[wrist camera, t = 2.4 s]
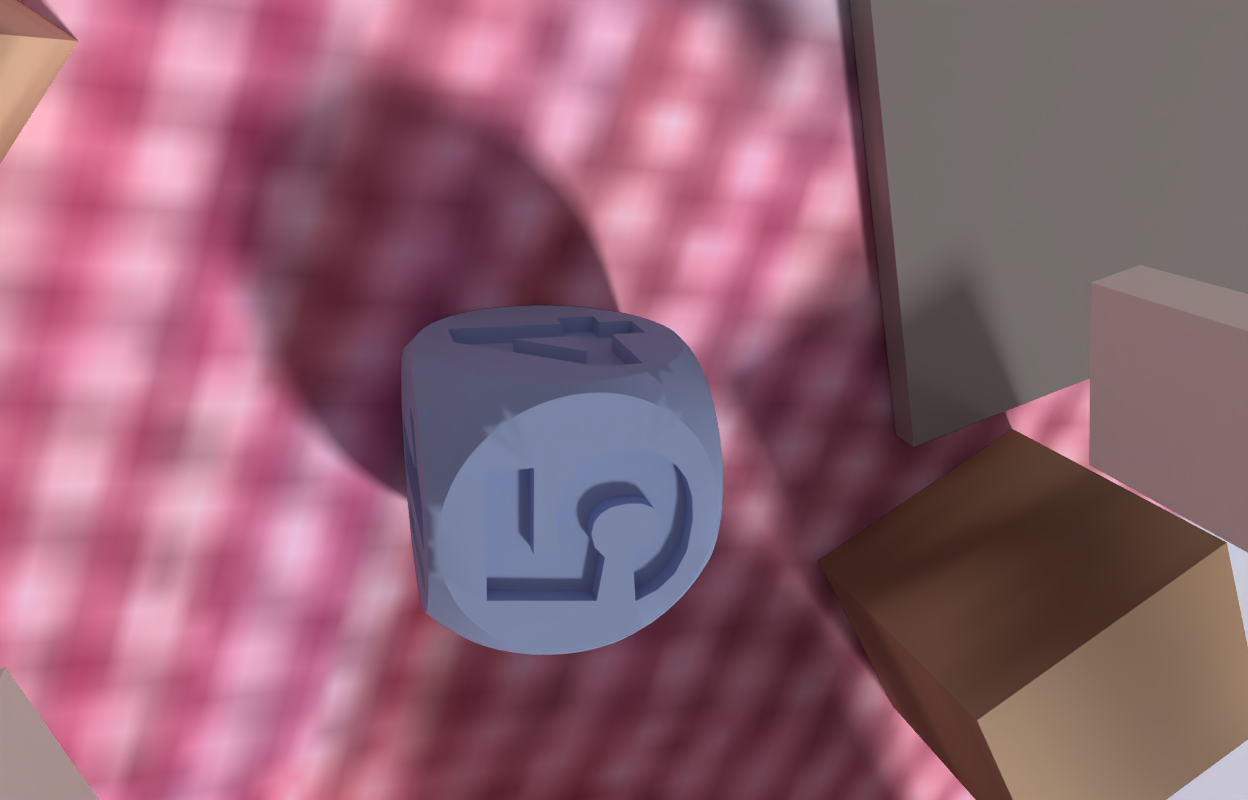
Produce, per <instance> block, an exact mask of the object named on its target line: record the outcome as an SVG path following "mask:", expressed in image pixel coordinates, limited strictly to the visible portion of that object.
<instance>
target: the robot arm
mask: <svg viewBox="0 0 1248 800" xmlns="http://www.w3.org/2000/svg"><path fill="white" fill-rule="evenodd" d="M1089 465H1091V466H1092V467H1094V468H1096V469H1098V470H1100V471H1101V472H1103V473H1105V474H1107V475H1109V476H1110V477H1112V478H1114V479H1116V480H1118V481H1119V482H1121V483H1123V484H1125V485H1127V486H1129V487H1130V488H1132V489H1134V490H1136V491H1138V492H1139V493H1141V494H1143V495H1145V496H1147V497H1148V498H1150V499H1152V500H1154V501H1156V502H1157V503H1159V504H1161V505H1163V506H1165V507H1167V508H1168V509H1170V510H1172V511H1174V512H1176V513H1177V514H1179V515H1181V516H1183V517H1185V518H1186V519H1188V520H1190V521H1192V522H1194V523H1195V524H1197V525H1199V526H1201V527H1203V528H1204V529H1206V530H1208V531H1210V532H1212V533H1214V534H1215V535H1217V536H1219V537H1221V538H1223V539H1224V540H1226V541H1228V542H1230V543H1232V544H1233V545H1235V546H1237V547H1239V548H1241V549H1242V550H1244V551H1246V552H1248V294H1247V293H1243V292H1239V291H1235V290H1232V289H1228V288H1224V287H1221V286H1217V285H1213V284H1209V283H1206V282H1202V281H1198V280H1195V279H1191V278H1187V277H1183V276H1180V275H1176V274H1172V273H1169V272H1165V271H1161V270H1157V269H1154V268H1150V267H1146V266H1143V265H1139V266H1136V267H1133V268H1130V269H1127V270H1125V271H1122V272H1119V273H1116V274H1113V275H1110V276H1108V277H1105V278H1102V279H1099V280H1096V281H1094V282H1091V330H1090V445H1089ZM0 800H98V798H97V797H96V796H95V794H94V793H93V791H92V790H91V788H90V787H89V786H88V784H87V783H86V781H85V780H84V778H83V777H82V776H81V774H80V773H79V771H78V770H77V768H76V767H75V766H74V764H73V763H72V761H71V760H70V758H69V757H68V756H67V754H66V753H65V751H64V750H63V748H62V747H61V746H60V744H59V743H58V741H57V740H56V738H55V737H54V736H53V734H52V733H51V731H50V730H49V728H48V727H47V726H46V724H45V723H44V721H43V720H42V718H41V717H40V716H39V714H38V713H37V711H36V710H35V708H34V707H33V705H32V704H31V703H30V701H29V700H28V698H27V697H26V695H25V694H24V693H23V691H22V690H21V688H20V687H19V685H18V684H17V683H16V681H15V680H14V678H13V677H12V675H11V674H10V673H9V671H8V670H7V668H6V667H5V668H2V669H0Z"/></svg>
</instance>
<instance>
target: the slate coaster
mask: <svg viewBox="0 0 1248 800" xmlns="http://www.w3.org/2000/svg"><path fill="white" fill-rule="evenodd" d="M849 1H850V10H851V20H852V29H853V38H854V48H855V57H856V66H857V76H858V85H859V95H860V104H861V113H862V123H863V132H864V141H865V151H866V160H867V169H868V179H869V188H870V198H871V207H872V216H873V226H874V235H875V244H876V254H877V263H878V272H879V282H880V291H881V301H882V310H883V319H884V329H885V338H886V347H887V357H888V366H889V375H890V385H891V394H892V404H893V413H894V422H895V432H896V435H897V436H898V437H900V438H901V439H903V440H904V441H906V442H907V443H909V444H910V445H912V446H913V447H915V446H917V445H920V444H922V443H925V442H928V441H930V440H933V439H935V438H938V437H940V436H943V435H946V434H948V433H951V432H953V431H956V430H958V429H961V428H963V427H966V426H969V425H971V424H974V423H976V422H979V421H981V420H984V419H986V418H989V417H992V416H994V415H997V414H999V413H1002V412H1004V411H1007V410H1009V409H1012V408H1015V407H1017V406H1020V405H1022V404H1025V403H1027V402H1030V401H1032V400H1035V399H1038V398H1040V397H1043V396H1045V395H1048V394H1050V393H1053V392H1055V391H1058V390H1061V389H1063V388H1066V387H1068V386H1071V385H1073V384H1076V383H1078V382H1081V381H1084V380H1086V379H1089V378H1090V330H1091V282H1094V281H1096V280H1099V279H1102V278H1105V277H1108V276H1110V275H1113V274H1116V273H1119V272H1122V271H1125V270H1127V269H1130V268H1133V267H1136V266H1139V265H1143V266H1146V267H1150V268H1154V269H1157V270H1161V271H1165V272H1169V273H1172V274H1176V275H1180V276H1183V277H1187V278H1191V279H1195V280H1198V281H1202V282H1206V283H1209V284H1213V285H1217V286H1221V287H1224V288H1228V289H1232V290H1235V291H1239V292H1243V293H1247V294H1248V0H849Z"/></svg>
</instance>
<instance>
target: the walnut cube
mask: <svg viewBox="0 0 1248 800" xmlns="http://www.w3.org/2000/svg"><path fill="white" fill-rule="evenodd" d="M818 562H819V564H820V565H821V567H822V569H823V571H824V573H825V575H826V577H827V579H828V581H829V583H830V585H831V587H832V589H833V591H834V592H835V594H836V596H837V598H838V600H839V602H840V604H841V606H842V608H843V610H844V612H845V614H846V616H847V618H848V620H849V621H850V623H851V625H852V627H853V629H854V631H855V633H856V635H857V637H858V639H859V641H860V643H861V645H862V647H863V648H864V650H865V652H866V654H867V656H868V658H869V660H870V662H871V664H872V666H873V668H874V670H875V672H876V674H877V676H878V677H879V679H880V681H881V683H882V685H883V687H884V689H885V691H886V693H887V695H888V697H889V699H890V701H891V703H892V704H893V706H894V708H895V709H896V710H897V711H898V713H899V714H900V715H901V716H902V717H903V718H904V719H905V720H906V722H907V723H908V724H909V725H910V726H911V727H912V728H913V729H914V731H915V732H916V733H917V734H918V735H919V736H920V737H921V738H922V740H923V741H924V742H925V743H926V744H927V745H928V746H929V747H930V749H931V750H932V751H933V752H934V753H935V754H936V755H937V756H938V758H939V759H940V760H941V761H942V762H943V763H944V764H945V765H946V767H947V768H948V769H949V770H950V771H951V772H952V773H953V774H954V776H955V777H956V778H957V779H958V780H959V781H960V782H961V783H962V785H963V786H964V787H965V788H966V789H967V790H968V791H969V792H970V794H971V795H972V796H973V797H974V798H975V799H976V800H1166V799H1168V798H1169V797H1170V796H1172V795H1173V794H1174V793H1176V792H1177V791H1179V790H1180V789H1181V788H1183V787H1184V786H1185V785H1187V784H1188V783H1189V782H1191V781H1192V780H1193V779H1195V778H1196V777H1197V776H1199V775H1200V774H1202V773H1203V772H1204V771H1206V770H1207V769H1208V768H1210V767H1211V766H1212V765H1214V764H1215V763H1216V762H1218V761H1219V760H1221V759H1222V758H1223V757H1225V756H1226V755H1227V754H1229V753H1230V752H1231V751H1233V750H1234V749H1235V748H1237V747H1238V746H1240V745H1241V744H1242V743H1244V742H1245V741H1246V740H1248V646H1247V641H1246V636H1245V631H1244V626H1243V622H1242V617H1241V612H1240V607H1239V602H1238V597H1237V592H1236V587H1235V582H1234V577H1233V572H1232V567H1231V562H1230V557H1229V552H1228V548H1227V543H1226V542H1224V541H1222V540H1220V539H1219V538H1217V537H1215V536H1213V535H1211V534H1209V533H1207V532H1205V531H1204V530H1202V529H1200V528H1198V527H1196V526H1194V525H1192V524H1190V523H1188V522H1187V521H1185V520H1183V519H1181V518H1179V517H1177V516H1175V515H1173V514H1172V513H1170V512H1168V511H1166V510H1164V509H1162V508H1160V507H1158V506H1156V505H1155V504H1153V503H1151V502H1149V501H1147V500H1145V499H1143V498H1141V497H1140V496H1138V495H1136V494H1134V493H1132V492H1130V491H1128V490H1126V489H1124V488H1123V487H1121V486H1119V485H1117V484H1115V483H1113V482H1111V481H1109V480H1108V479H1106V478H1104V477H1102V476H1100V475H1098V474H1096V473H1094V472H1092V471H1091V470H1089V469H1087V468H1085V467H1083V466H1081V465H1079V464H1077V463H1075V462H1074V461H1072V460H1070V459H1068V458H1066V457H1064V456H1062V455H1060V454H1059V453H1057V452H1055V451H1053V450H1051V449H1049V448H1047V447H1045V446H1043V445H1042V444H1040V443H1038V442H1036V441H1034V440H1032V439H1030V438H1028V437H1027V436H1025V435H1023V434H1021V433H1019V432H1017V431H1015V430H1013V429H1011V430H1009V431H1008V432H1007V433H1005V434H1004V435H1002V436H1001V437H999V438H998V439H996V440H995V441H993V442H992V443H990V444H989V445H987V446H986V447H985V448H983V449H982V450H980V451H979V452H977V453H976V454H974V455H973V456H971V457H970V458H968V459H967V460H965V461H964V462H962V463H961V464H960V465H958V466H957V467H955V468H954V469H952V470H951V471H949V472H948V473H946V474H945V475H943V476H942V477H940V478H939V479H938V480H936V481H935V482H933V483H932V484H930V485H929V486H927V487H926V488H924V489H923V490H921V491H920V492H918V493H917V494H915V495H914V496H913V497H911V498H910V499H908V500H907V501H905V502H904V503H902V504H901V505H899V506H898V507H896V508H895V509H893V510H892V511H891V512H889V513H888V514H886V515H885V516H883V517H882V518H880V519H879V520H877V521H876V522H874V523H873V524H871V525H870V526H869V527H867V528H866V529H864V530H863V531H861V532H860V533H858V534H857V535H855V536H854V537H852V538H851V539H849V540H848V541H846V542H845V543H844V544H842V545H841V546H839V547H838V548H836V549H835V550H833V551H832V552H830V553H829V554H827V555H826V556H824V557H823V558H822V559H820V560H819V561H818Z"/></svg>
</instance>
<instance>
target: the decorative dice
mask: <svg viewBox="0 0 1248 800" xmlns="http://www.w3.org/2000/svg"><path fill="white" fill-rule="evenodd" d="M401 397H402V424H403V443H404V459H405V473H406V485H407V497H408V508H409V519H410V529H411V538H412V547H413V555H414V563H415V570H416V577H417V584H418V590H419V595H420V600H421V604H422V608H423V610H424V612H425V613H426V614H428V615H429V616H430V617H432V618H433V619H434V620H436V621H437V622H438V623H440V624H441V625H443V626H444V627H446V628H448V629H449V630H451V631H453V632H454V633H456V634H458V635H460V636H462V637H464V638H466V639H468V640H470V641H472V642H475V643H477V644H480V645H483V646H486V647H489V648H493V649H497V650H502V651H507V652H513V653H521V654H533V655H555V654H568V653H576V652H582V651H587V650H592V649H596V648H600V647H603V646H606V645H609V644H612V643H615V642H617V641H620V640H622V639H624V638H626V637H628V636H630V635H632V634H634V633H635V632H637V631H639V630H640V629H642V628H644V627H646V626H647V625H649V624H651V623H652V622H653V621H655V620H656V619H657V618H659V617H660V616H661V615H662V614H664V613H665V612H666V611H667V610H668V609H670V608H671V607H672V606H673V605H674V604H675V603H676V602H677V601H678V600H679V599H680V598H681V597H682V596H683V595H684V594H685V593H686V591H687V590H688V589H689V588H690V587H691V585H692V584H693V583H694V582H695V581H696V579H697V578H698V576H699V575H700V573H701V572H702V570H703V569H704V567H705V566H706V564H707V563H708V561H709V559H710V557H711V555H712V552H713V550H714V547H715V544H716V541H717V537H718V532H719V527H720V521H721V513H722V502H723V465H722V452H721V443H720V435H719V429H718V423H717V418H716V413H715V409H714V404H713V401H712V397H711V393H710V390H709V387H708V384H707V381H706V379H705V376H704V374H703V371H702V369H701V367H700V365H699V363H698V361H697V359H696V357H695V355H694V354H693V352H692V351H691V349H690V348H689V347H688V346H687V344H686V343H685V342H684V341H683V340H682V339H681V338H680V337H679V336H678V335H677V334H676V333H675V332H673V331H672V330H670V329H669V328H667V327H665V326H663V325H661V324H659V323H656V322H654V321H651V320H648V319H645V318H641V317H638V316H634V315H630V314H625V313H621V312H615V311H609V310H603V309H595V308H586V307H574V306H553V305H530V306H509V307H498V308H489V309H482V310H476V311H470V312H465V313H461V314H457V315H453V316H449V317H446V318H443V319H441V320H438V321H436V322H433V323H431V324H429V325H428V326H426V327H425V328H423V329H422V330H421V331H420V332H419V333H418V334H417V335H416V336H415V337H414V338H413V339H412V340H411V341H410V342H409V343H408V344H407V345H406V346H405V347H404V349H403V353H402V365H401Z"/></svg>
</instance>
